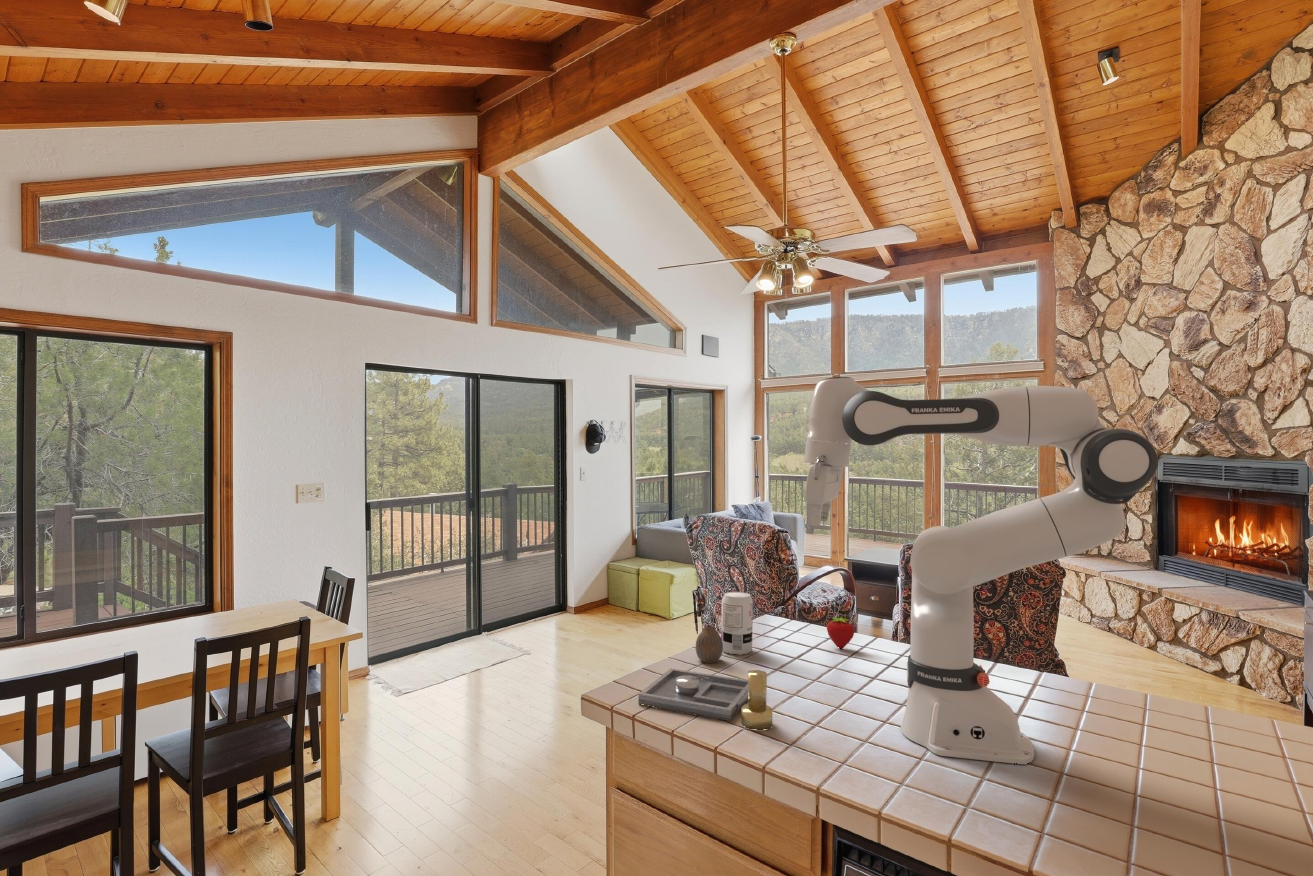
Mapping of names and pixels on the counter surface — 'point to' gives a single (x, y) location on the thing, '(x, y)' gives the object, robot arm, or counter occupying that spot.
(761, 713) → the gold peg with base
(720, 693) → the tray
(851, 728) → the counter surface
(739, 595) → the supplement can
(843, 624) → the strawberry
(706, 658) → the vase
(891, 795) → the counter surface
